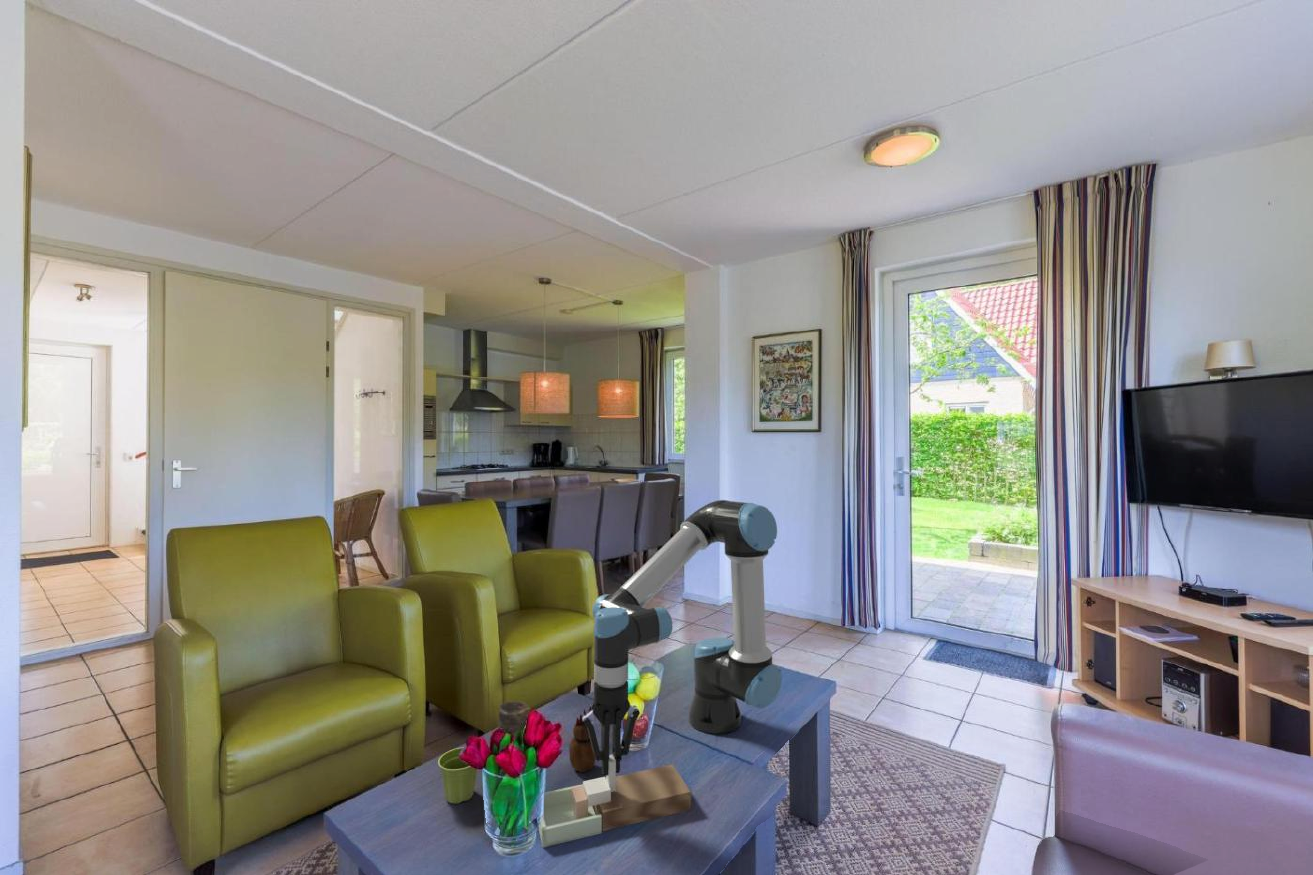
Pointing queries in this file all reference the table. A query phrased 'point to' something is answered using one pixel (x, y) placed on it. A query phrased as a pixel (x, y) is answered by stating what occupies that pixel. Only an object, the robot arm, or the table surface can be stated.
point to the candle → (513, 716)
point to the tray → (565, 819)
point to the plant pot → (457, 777)
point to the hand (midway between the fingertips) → (610, 787)
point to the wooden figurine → (581, 747)
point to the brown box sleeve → (645, 797)
